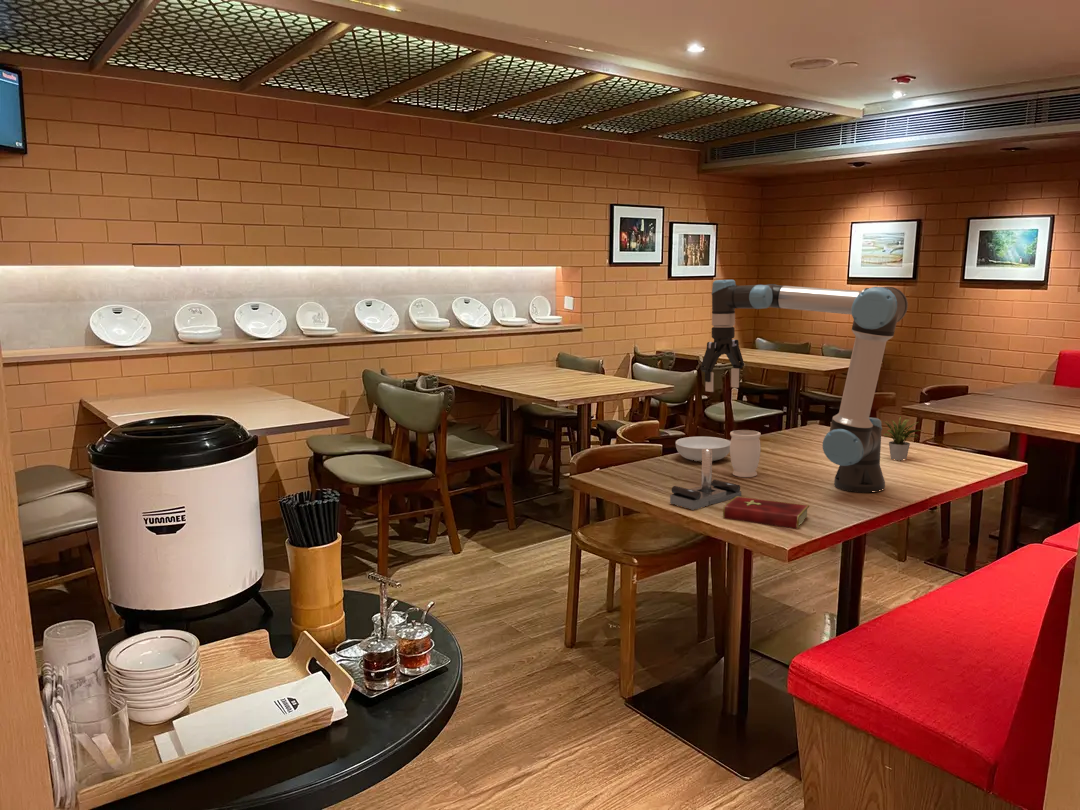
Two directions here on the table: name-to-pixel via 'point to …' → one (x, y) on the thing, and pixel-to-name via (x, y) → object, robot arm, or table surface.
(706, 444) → the serving bowl
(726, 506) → the hardcover book
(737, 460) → the jar
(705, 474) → the link pin
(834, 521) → the table surface
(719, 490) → the plate with two rollers
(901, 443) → the house plant
